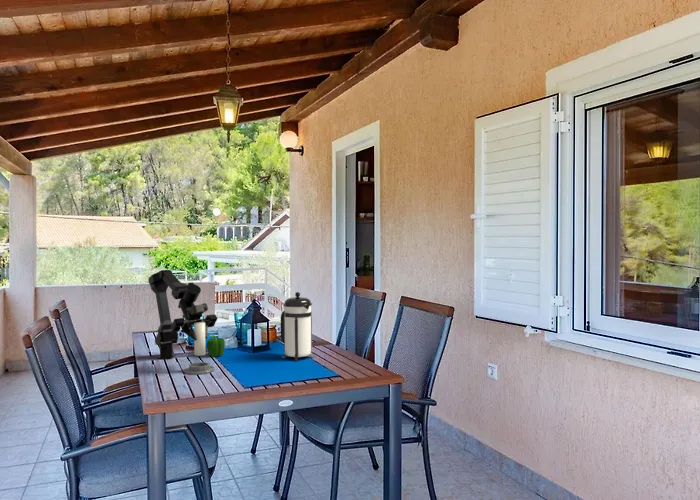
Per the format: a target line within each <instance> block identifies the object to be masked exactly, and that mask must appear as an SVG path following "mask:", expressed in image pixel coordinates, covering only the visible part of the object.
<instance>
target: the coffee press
mask: <svg viewBox="0 0 700 500" xmlns="http://www.w3.org/2000/svg"><path fill="white" fill-rule="evenodd" d="M294 296H295V297H290V298H287V299H286V300H285V301H284V303H283V307H284V310H283V311H282V312H281V315H280V338H281V339H280V340H281V342H282V343H283V345H284V346H283V347H284V351H283V353H284V354H285V356H284V354H282V355H281V358H282V359H285V358H286V357H291V358H294V362H299V358H302V357H308V356H309V357H310V358H312V359H314V358H315V356H316V355H315V353H314V352H313V333H312V331H313V329H312V327H313V324H312V323H313V321H312V305H313V303H312V302H311V299H309V298H307V297H303V296H302V297H301V293H300V292H298V291H297V292H295V293H294ZM311 354H312V355H313V356H312V355H311Z"/></svg>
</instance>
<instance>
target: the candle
mask: <svg viewBox="0 0 700 500" xmlns="http://www.w3.org/2000/svg"><path fill="white" fill-rule="evenodd" d="M193 326H194V328H193V331H194V333H195V335H196V338H197V340H194V339H193V340H194V349H193V350H194V356H198V357H199V356H206V352H207V351H206V350H207V346H206V338H205V323H204V322H197V323H194V325H193Z"/></svg>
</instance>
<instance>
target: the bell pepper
mask: <svg viewBox="0 0 700 500" xmlns="http://www.w3.org/2000/svg"><path fill="white" fill-rule="evenodd" d="M225 349H226V341H225V339H224V338H222V337H221V338H218V337H217V335H215V334H211V335H210V338H209V339H208V340H207V342H206V350H207V353H208V356H209V357H214V358H215V357H222V356H223V355H224V351H225Z"/></svg>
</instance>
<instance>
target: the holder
mask: <svg viewBox="0 0 700 500" xmlns="http://www.w3.org/2000/svg"><path fill="white" fill-rule="evenodd" d="M215 370H216V369H215V366H213V365H211V364H210V363H209V362H202V361H201V362H194V363H190V364H189V365H188V367H186V368H185V369H184V373H185V374H187V375H192V376H193V375H194V376H195V375H197V376H198V375H206V374H211V373H212V372H214V371H215Z"/></svg>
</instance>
